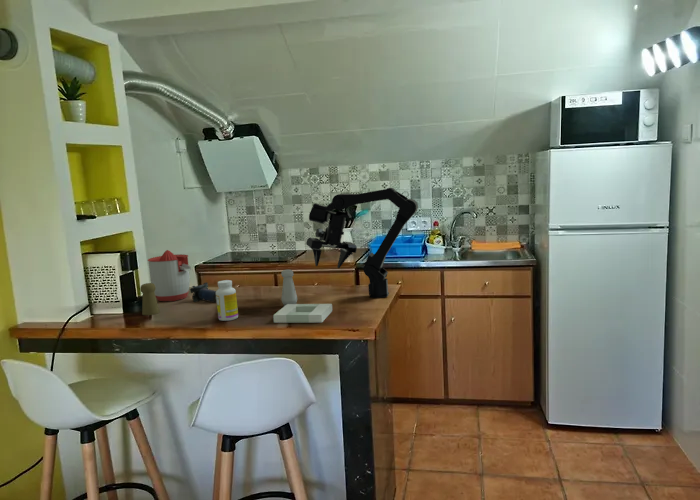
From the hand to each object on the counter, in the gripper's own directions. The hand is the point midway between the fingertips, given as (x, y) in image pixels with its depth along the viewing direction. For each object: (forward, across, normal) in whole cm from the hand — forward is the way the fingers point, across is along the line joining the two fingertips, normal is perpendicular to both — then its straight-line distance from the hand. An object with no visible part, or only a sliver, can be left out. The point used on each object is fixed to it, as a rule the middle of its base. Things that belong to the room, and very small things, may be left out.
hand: (327, 267), depth 207 cm
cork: (+28, +58, -16) cm, 67 cm away
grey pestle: (+14, +14, +6) cm, 21 cm away
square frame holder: (+11, +16, +23) cm, 31 cm away
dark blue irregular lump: (+24, +36, -22) cm, 49 cm away
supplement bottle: (+19, +37, +10) cm, 43 cm away
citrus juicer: (+29, +47, -36) cm, 66 cm away
